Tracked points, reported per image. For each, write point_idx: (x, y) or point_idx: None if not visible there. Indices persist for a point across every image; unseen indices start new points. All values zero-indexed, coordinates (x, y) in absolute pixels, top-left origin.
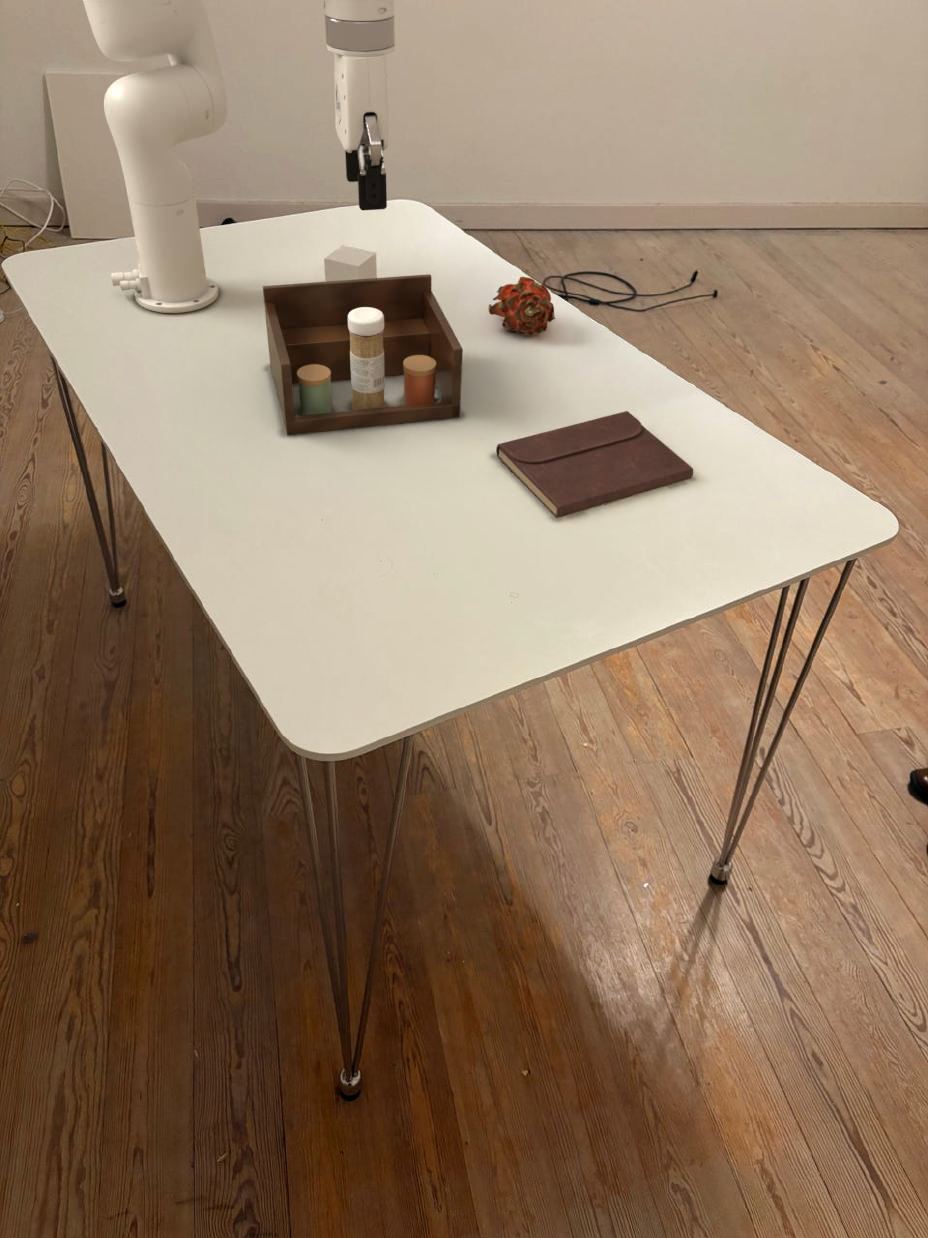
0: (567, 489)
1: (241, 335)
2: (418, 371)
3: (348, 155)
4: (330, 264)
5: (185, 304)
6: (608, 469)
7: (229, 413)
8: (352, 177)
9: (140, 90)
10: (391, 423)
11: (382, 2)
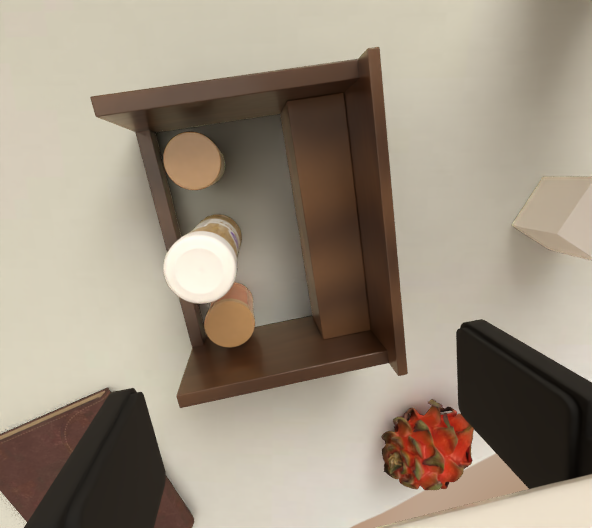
0: (11, 465)
1: (436, 41)
2: (204, 322)
3: (540, 389)
4: (580, 186)
5: None
6: None
7: (197, 27)
8: (465, 347)
9: None
10: None
11: None
